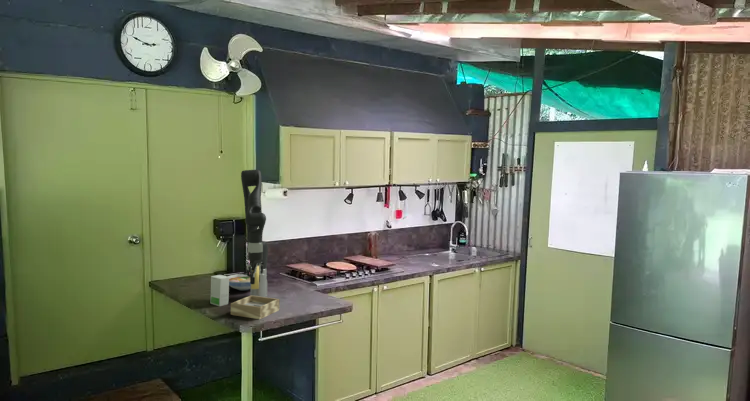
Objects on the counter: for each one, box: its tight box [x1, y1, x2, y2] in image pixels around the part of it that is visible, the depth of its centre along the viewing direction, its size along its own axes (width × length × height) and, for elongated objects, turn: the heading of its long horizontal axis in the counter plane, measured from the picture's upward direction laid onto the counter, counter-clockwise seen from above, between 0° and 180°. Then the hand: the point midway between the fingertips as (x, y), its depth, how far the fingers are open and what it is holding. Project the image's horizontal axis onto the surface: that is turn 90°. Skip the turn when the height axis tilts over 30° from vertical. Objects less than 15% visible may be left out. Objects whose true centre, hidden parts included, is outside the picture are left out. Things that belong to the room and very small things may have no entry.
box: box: [230, 295, 281, 320], centre depth 275 cm, size 18×18×6 cm
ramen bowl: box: [227, 272, 269, 292], centre depth 323 cm, size 25×23×8 cm
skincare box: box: [210, 274, 230, 307], centre depth 289 cm, size 8×7×16 cm
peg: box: [251, 266, 259, 289], centre depth 273 cm, size 4×4×12 cm
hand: (255, 283), depth 274 cm, fingers closed on peg, 4 cm apart
